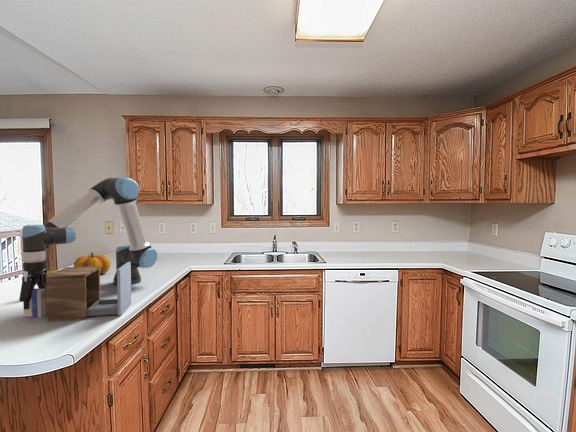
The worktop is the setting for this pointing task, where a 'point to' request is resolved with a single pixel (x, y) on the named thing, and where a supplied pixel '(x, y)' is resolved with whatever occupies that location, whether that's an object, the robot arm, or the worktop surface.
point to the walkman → (39, 303)
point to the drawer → (122, 295)
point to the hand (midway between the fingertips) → (36, 311)
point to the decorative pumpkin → (94, 262)
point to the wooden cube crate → (72, 292)
